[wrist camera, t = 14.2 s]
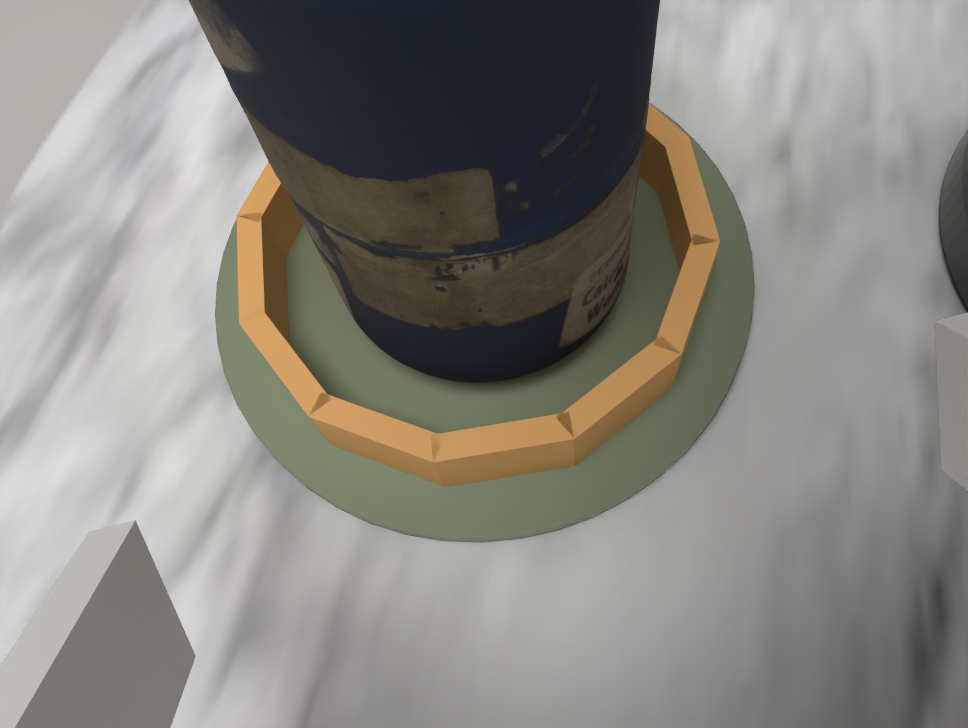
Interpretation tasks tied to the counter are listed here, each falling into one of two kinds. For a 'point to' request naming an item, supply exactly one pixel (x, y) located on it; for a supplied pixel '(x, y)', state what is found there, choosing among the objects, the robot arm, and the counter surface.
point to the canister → (454, 161)
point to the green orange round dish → (500, 404)
